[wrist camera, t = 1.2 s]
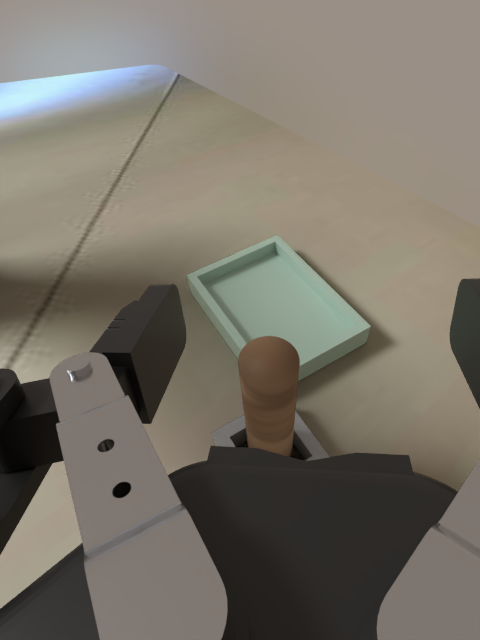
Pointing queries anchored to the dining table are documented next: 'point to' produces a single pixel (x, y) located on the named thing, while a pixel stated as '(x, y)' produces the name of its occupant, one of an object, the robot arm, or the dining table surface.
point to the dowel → (269, 392)
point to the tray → (278, 304)
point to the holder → (302, 438)
